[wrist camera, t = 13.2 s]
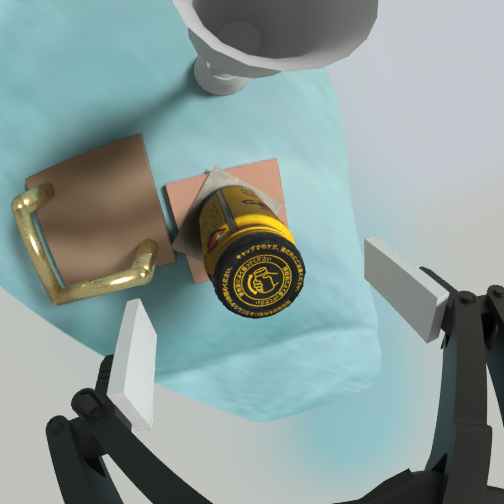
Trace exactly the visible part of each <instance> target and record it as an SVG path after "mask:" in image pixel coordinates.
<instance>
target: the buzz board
mask: <svg viewBox="0 0 504 504" xmlns="http://www.w3.org/2000/svg"><path fill="white" fill-rule="evenodd" d="M25 181H26V184H27V187H28V190H30V189H32V188H34V187H36V186H38V185H40V184H42V183H45V182H49V183H51V184H52V185H53V187H54V190H55V195H54V197H53V199H52V200H51V201H49V202H47V203H46V204H44V205H43V206H41V207H40V208H38V209H37V210H35V212H36V215H37V218H38V220H39V223H40V226H41V229H42V231H43V234H44V236H45V239H46V241H47V244H48V246H49V249H50V251H51V254H52V256H53V258H54V261H55V263H56V265H57V267H58V270H59V272H60V274H61V276H62V278H63V280H64V283H65V285H66V286H68V285H72V284H75V283H79V282H83V281H86V280H90V279H93V278H97V277H101V276H104V275H108V274H112V273H115V272H119V271H123V270H127V269H130V268H131V267H132V265H133V262H134V259H135V256H136V254H137V251H138V249H139V246H140V244H141V242H142V241H143V240H145V239H152V240H154V241H155V242H156V243H157V244H158V247H159V250H158V255H157V259H156V264H155V267H159V266H163V265H167V264H171V263H175V262H176V254H175V251H174V250H173V249H172V247H171V246H172V241H171V238H170V235H169V232H168V228H167V225H166V222H165V218H164V215H163V212H162V208H161V205H160V201H159V198H158V194H157V191H156V187H155V183H154V180H153V176H152V172H151V169H150V165H149V161H148V157H147V153H146V149H145V145H144V141H143V137H142V133H141V134H137V135H134V136H130V137H127V138H124V139H121V140H118V141H116V142H113V143H110V144H107V145H104V146H101V147H99V148H96V149H93V150H91V151H88V152H85V153H83V154H80V155H78V156H75V157H73V158H71V159H68V160H66V161H63V162H61V163H59V164H56V165H54V166H52V167H50V168H47V169H45V170H43V171H41V172H39V173H37V174H34V175H32V176H30V177H28V178H26V179H25Z"/></svg>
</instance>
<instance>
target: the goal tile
mask: <svg viewBox="0 0 504 504" xmlns="http://www.w3.org/2000/svg"><path fill="white" fill-rule="evenodd" d="M222 170H224V171H226V172H228V173H229V174H231V175H233V176H235V177H237V178H239V179H241V180H242V181H244V182H246V183H248V184H250V185H251V186H253V187H255V188H257V189H259V190H260V191H262V192H264V193H266V194H267V195H269V196H271V197H273V198H274V199H276V200H278V201H279V202H281V203H283V204H284V205H283V206H282V208H281V209H280V211H279V212H278V214H277V217H278V218H279V219H280V220H281V221H283V222H284V224H285V225H286V227H287V228H288V222H287V215H286V209H285V203H284V196H283V190H282V184H281V178H280V172H279V166H278V161H277V159H276V158H273V159H268V160H263V161H258V162H254V163H249V164H244V165H240V166H235V167H231V168H227V169H222ZM209 174H210V173H206V174H202V175H198V176H194V177H190V178H186V179H183V180H179V181H175V182H171V183H168V184H166V189H167V192H168V196H169V200H170V203H171V207H172V210H173V214H174V217H175V221H176V224H177V227H178V231H179V229H180V228H181V226H182V224H183V222H184V220H185V218H186V217H187V215H188V213H189V211H190V209H191V207H192V205H193V203H194V201H195V199H196V197H197V196H198V194H199V192H200V190H201V189H202V187H203V185H204V183H205V181H206V179H207V178H208V176H209ZM288 229H289V228H288ZM186 257H187V260H188V264H189V267H190V270H191V273H192V276H193V279H194V282H195V283H199V282H203V281H207V280H210V279H209V277H208V275H207V273H206V271H205V267H204V263H203V262H201V261H199V260H197V259H194V258H192V257H190V256H187V255H186Z"/></svg>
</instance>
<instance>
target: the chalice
mask: <svg viewBox="0 0 504 504" xmlns="http://www.w3.org/2000/svg"><path fill="white" fill-rule="evenodd" d="M172 1H173V2H174V4H175V6H176V8H177V10H178V11H179V13H180V15H181V17H182V18H183V20H184V22H185V24H186V26H187V27H188V33H189V38H190V40H191V42H192V44H193V45H194V47H195V49H196V51H197V53H198V54H199V55H198V57H197V59H196V61H195V64H194V75H195V79H196V80H197V82H198V84H199V85H200V86H201V87H202V88H203V89H204V90H205V91H207V92H209V93H212V94H214V95H222V96H225V95H230V94H234V93H236V92H238V91H240V90H241V89H242V88H243V87H244V86H245V85H247V83H248V81H249V79H250V78H259V77H266V76H273V75H275V74H277V73H279V72H281V71H284V72H289V71H298V70H308V69H319V68H322V67H325V66H327V65H329V64H331V63H334V62H336V61H339V60H341V59H343V58H346V57H348V56H349V55H350V54H351V53H352V52H353V51H354V50H355V49H356V48H357V47H359V45H361V44H362V43H363V42H364V41H365V40H366V39H367V37H368V35H369V33H370V31H371V29H372V27H373V24H374V22H375V20H376V18H377V9H378V0H172Z"/></svg>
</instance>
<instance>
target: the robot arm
mask: <svg viewBox="0 0 504 504" xmlns="http://www.w3.org/2000/svg"><path fill="white" fill-rule="evenodd" d="M364 246H365V274H364V278H365V279H366V280H367V281H368V282H369V283H370V284H371V285H372V286H373V287H374V288H375V289H376V290H377V291H378V292H379V293H380V294H381V295H382V296H383V297H384V298H385V299H386V300H387V301H388V302H389V303H390V304H391V305H392V307H394V309H395V310H396V311H397V312H398V313H399V314H400V315H401V316H402V317H403V318H404V319H405V320H406V321H407V322H408V323H409V324H410V325H411V326H412V328H413V329H414V330H415V331H416V332H417V333H418V334H419V335H420V336H421V337H422V338H423V340H424V341H425V342H426V343H429V342H431V341H433V340H435V339H437V338H438V337H439V333H440V329H442V330H443V331H444V332H445V335H444V339H443V342H442V345H441V349H442V348H443V368H442V381H441V392H440V400H439V408H438V416H437V422H436V429H435V434H434V440H433V445H432V450H431V454H430V457H429V460H428V462H427V464H426V467H425V470H424V471H417V472H411V471H410V469H409V468H408V469H407V470H405V471H403V472H401V473H399V474H397V475H395V476H393V477H391V478H389V479H387V480H385V481H384V482H382V483H381V484H380V485H378V486H377V487H376V488H375V489H373V490H372V491H371V492H369V493H368V494H366V495H365V496H364V497H362V498H361V499H358V500H353V501H348V502H341V503H334V504H504V489H502V488H497V487H493V486H488V485H487V480H488V473H489V466H490V456H491V446H492V445H491V444H492V427H491V426H488V425H487V373H486V363H487V366H488V369H489V373H490V375H491V379H492V382H493V386H494V389H495V393H496V397H497V400H498V404H499V408H500V412H501V416H502V421H503V426H504V288H503V287H502V286H499V285H492V286H490V287H489V288H488V290H487V294H486V295H482V296H476V295H475V294H473V293H471V292H469V291H460V292H458V291H457V290H456V289H454V288H453V287H452V286H451V285H449V284H448V283H447V282H445V281H444V280H443V279H441V278H440V277H439V276H437V275H436V274H435V273H434V272H433V271H431V270H430V269H427V268H425V267H419V268H418V267H417V266H416V265H414V264H413V263H411V262H410V261H409V260H408V259H406V258H405V257H404V256H402V255H401V254H400V253H398V252H397V251H396V250H394V249H393V248H392V247H390V246H389V245H387V244H386V243H385V242H383V241H382V240H381V239H379V238H378V237H376V236H372V237H368V238H365V239H364ZM156 343H157V334H156V332H155V330H154V328H153V326H152V324H151V322H150V320H149V317H148V315H147V313H146V311H145V309H144V307H143V304H142V302H141V300H140V298H138V299H134V300H130V301H127V304H126V308H125V312H124V316H123V320H122V324H121V328H120V332H119V336H118V341H117V345H116V350H115V354H113V355H107V356H106V357H105V358H104V360H103V361H102V363H101V365H100V369H99V374H98V380H97V382H96V387H95V390H93V389H91V388H85V389H82V390H80V391H79V392H77V393H76V394H75V395H74V397H73V399H72V401H71V406H72V409H73V410H74V411H75V412H76V413H77V414H78V416H79V417H77V418H75V419H72V420H69V421H68V420H67V419H66V418H65V417H64V416H60V415H58V416H55V417H53V418H52V419H50V421H49V422H48V423H47V426H46V436H47V441H48V446H49V450H50V454H51V458H52V463H53V466H54V470H55V474H56V477H57V481H58V484H59V487H60V491H61V494H62V497H63V500H64V502H65V504H124V503H123V501H122V500H121V498H120V495H119V493H118V491H117V489H116V487H115V485H114V483H113V481H112V479H111V477H110V475H109V472H108V470H107V468H106V466H105V463H104V461H103V459H102V455H105V454H109V456H110V457H111V458H112V459H113V460H114V462H115V463H116V464H117V465H118V466H119V468H120V469H121V470H122V471H123V472H124V473H125V475H126V476H127V477H128V478H129V479H130V480H131V481H132V482H133V483H134V485H135V486H136V487H137V488H138V489H139V490H140V491H141V492H142V493H143V494H144V495H145V496H146V497H147V498H148V499H149V500H150V501H151V502H152V503H153V504H213V503H211V502H210V501H209V500H207V499H206V498H205V497H203V496H202V495H201V494H199V493H198V492H197V491H196V490H194V489H193V488H192V487H191V486H189V485H188V484H187V483H185V482H184V481H183V480H182V479H181V478H180V477H178V476H177V475H176V474H175V473H174V472H173V471H171V470H170V469H169V468H168V467H167V466H166V465H165V464H163V462H161V461H160V460H159V459H158V458H157V457H156V456H155V455H154V454H153V453H152V452H151V451H150V450H149V449H148V448H147V447H146V446H145V445H143V443H142V442H141V441H140V440H138V438H137V437H136V436H135V435H134V434H133V433H132V432H131V427H132V426H133V427H134V428H135V429H136V430H137V431H142V430H151V429H153V396H154V374H155V357H156ZM443 346H444V347H443Z"/></svg>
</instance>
